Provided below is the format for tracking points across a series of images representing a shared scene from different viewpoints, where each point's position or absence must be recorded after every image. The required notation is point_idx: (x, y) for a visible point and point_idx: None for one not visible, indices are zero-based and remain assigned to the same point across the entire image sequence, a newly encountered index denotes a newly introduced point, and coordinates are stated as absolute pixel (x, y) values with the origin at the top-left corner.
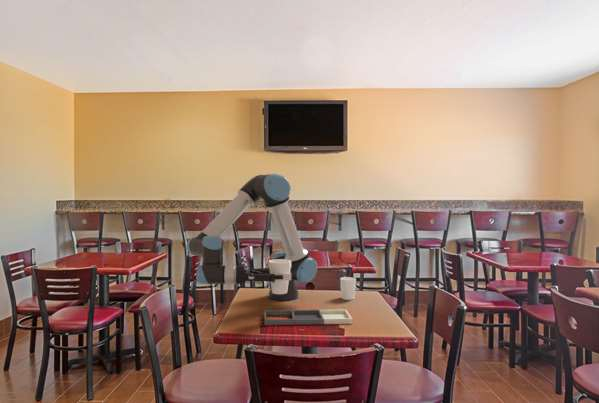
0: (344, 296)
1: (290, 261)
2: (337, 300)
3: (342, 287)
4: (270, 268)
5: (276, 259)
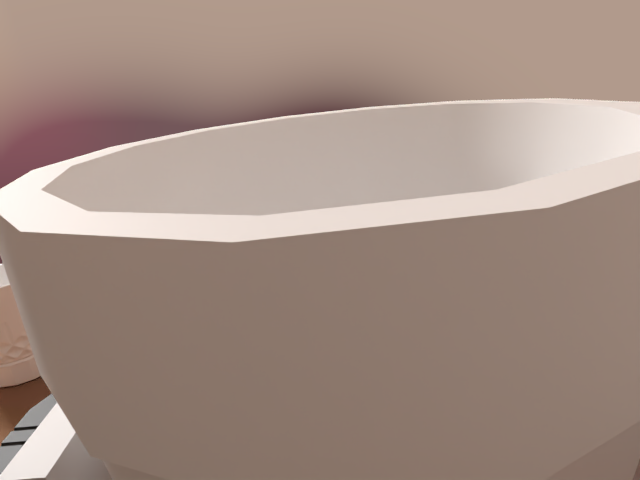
0: (32, 364)
1: (376, 107)
2: (27, 402)
3: (5, 329)
4: (589, 448)
5: (25, 183)
